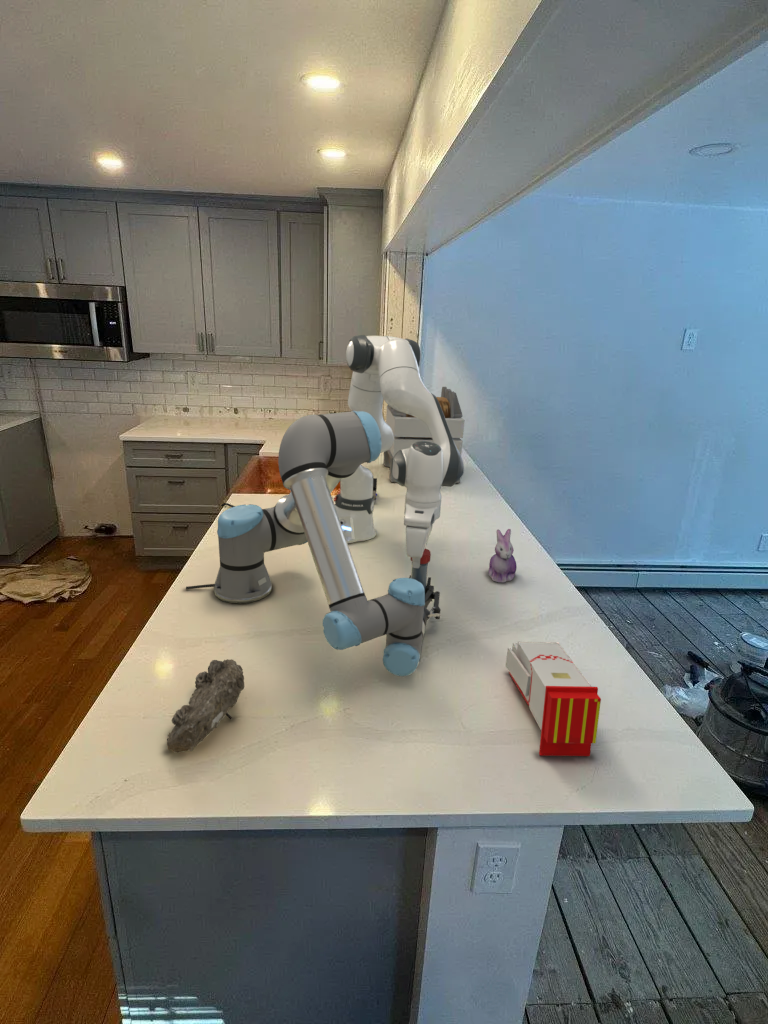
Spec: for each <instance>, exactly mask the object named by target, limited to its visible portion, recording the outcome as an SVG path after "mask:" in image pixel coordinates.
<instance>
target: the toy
mask: <svg viewBox="0 0 768 1024" xmlns="http://www.w3.org/2000/svg"><path fill="white" fill-rule="evenodd" d="M511 646H512V647H508V648H507V653H506V658H505V659H506V660H505V668H506V669H507V671H508V675H509V676H510V677H511V679H512V681H513V682H514V684H515V686H516V688H517V689H518V691H519V693H520V694H521V696H522V698H523V700H524V702H525V703H526V705H527V706H528V708H529V710H530V712H531V715H532V716H533V718H534V720H535V722H536V723H537V724H536V725H537V726H538V727H539V730H540V731H541V733H540V739H539V740H540V741H539V749H538V751H539V752H538V754H539V756H543V757H548V756H550V757H551V756H552V757H553V756H554V757H568V756H569V757H591V751H592V744H596V743H597V734H598V726H599V717H600V710H601V702H602V698H601V697H600V696H599V694H598V693H599V688H598V686H592V684H590V682H589V681H588V680H587V678H586V677H585V676H584V675H583V673H582V672H581V671H580V669H579V668H578V667H577V665H576V664H575V663H574V661H573V660H572V659H571V658H570V656H569V655H568V654H567V652H566V651H565V649H564V647H562V645H561V644H560V643H559V642H553V641H551V642H549V641H548V642H547V641H546V642H545V641H517V642H512V645H511Z"/></svg>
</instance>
